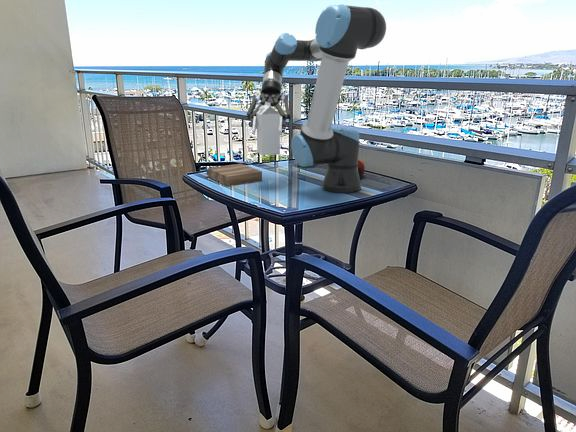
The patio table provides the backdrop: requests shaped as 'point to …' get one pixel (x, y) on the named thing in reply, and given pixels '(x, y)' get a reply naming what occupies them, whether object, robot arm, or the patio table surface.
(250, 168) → the brown flat block
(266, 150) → the milk carton
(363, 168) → the fruit
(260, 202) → the patio table surface
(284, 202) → the patio table surface
